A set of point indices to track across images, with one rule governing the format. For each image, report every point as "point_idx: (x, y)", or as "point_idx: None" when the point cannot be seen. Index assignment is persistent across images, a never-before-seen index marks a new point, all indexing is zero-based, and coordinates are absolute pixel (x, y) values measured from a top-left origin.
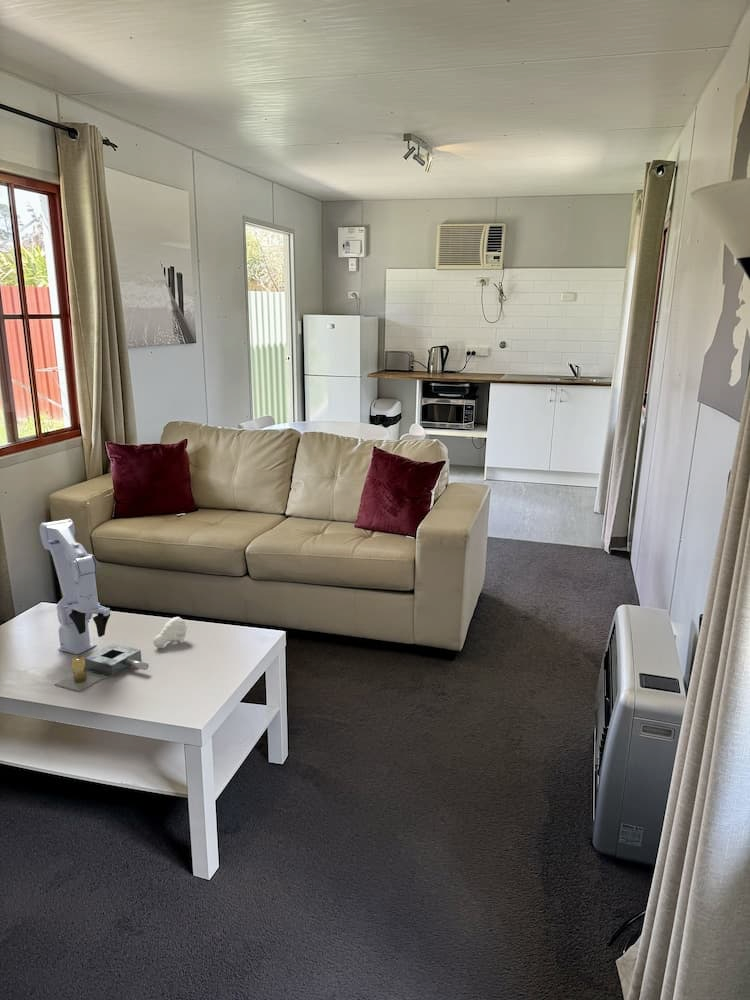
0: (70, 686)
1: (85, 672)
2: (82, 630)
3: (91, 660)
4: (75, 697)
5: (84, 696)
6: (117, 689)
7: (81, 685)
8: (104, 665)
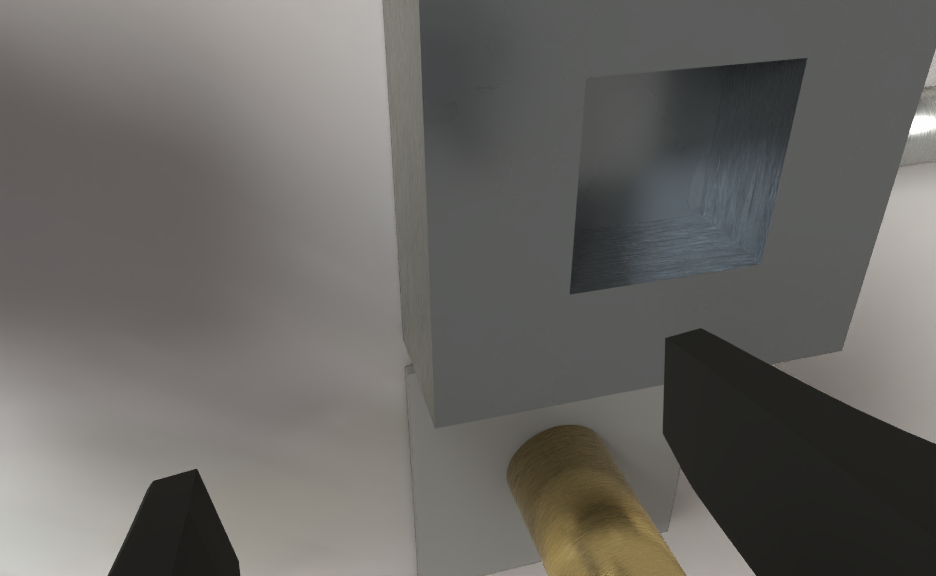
0: None
1: (634, 493)
2: (218, 569)
3: (562, 402)
4: (688, 558)
5: None
6: (896, 366)
7: None
8: None
